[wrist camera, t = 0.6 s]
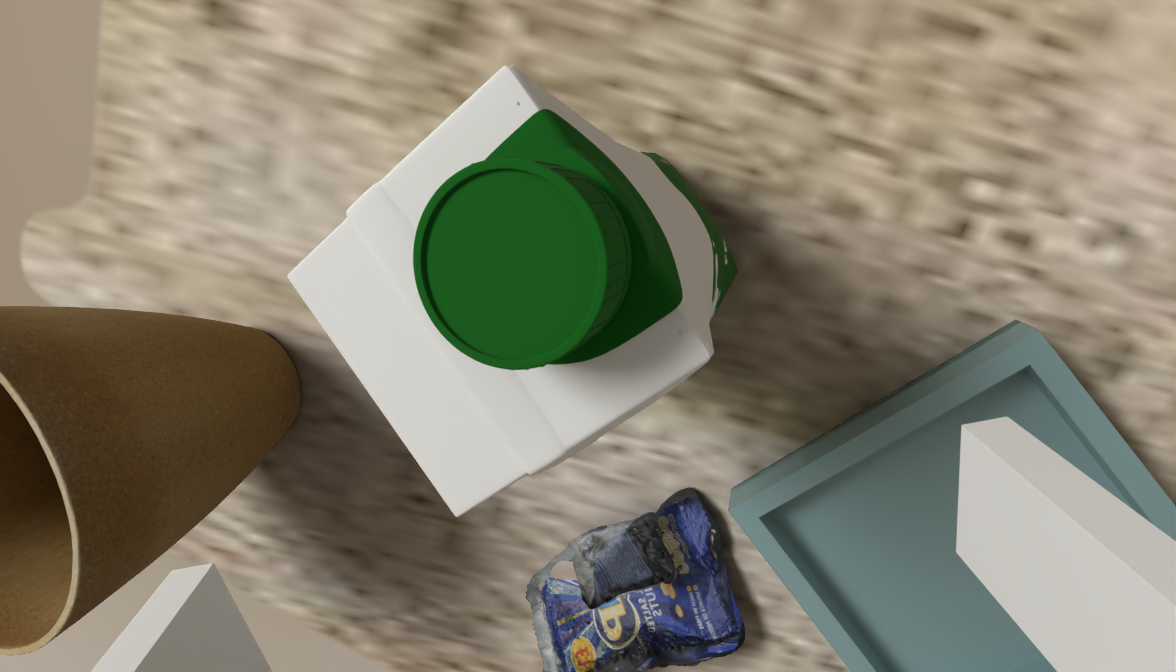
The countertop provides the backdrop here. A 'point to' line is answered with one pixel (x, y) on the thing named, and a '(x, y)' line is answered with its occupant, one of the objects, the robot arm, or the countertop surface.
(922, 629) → the tray
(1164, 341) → the countertop surface
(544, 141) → the milk carton
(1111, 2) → the countertop surface
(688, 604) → the snack package
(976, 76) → the countertop surface
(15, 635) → the plant pot
